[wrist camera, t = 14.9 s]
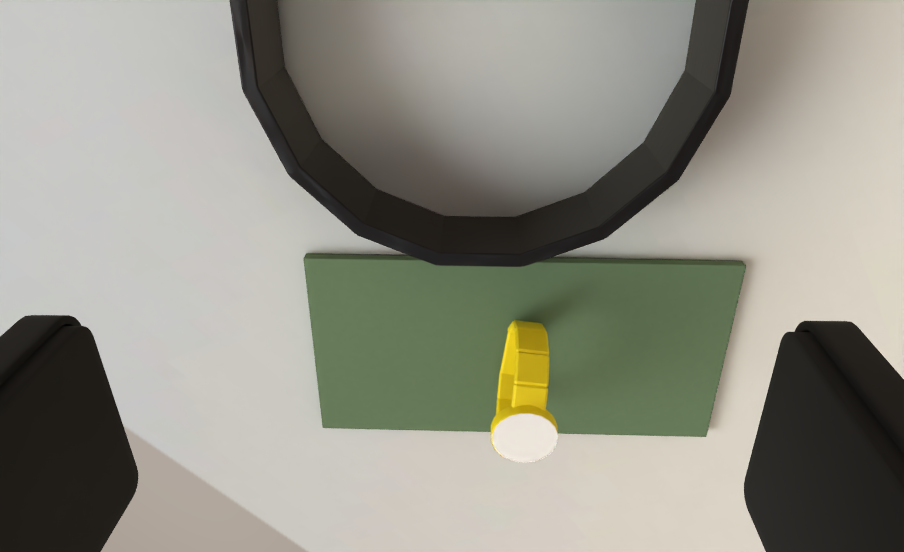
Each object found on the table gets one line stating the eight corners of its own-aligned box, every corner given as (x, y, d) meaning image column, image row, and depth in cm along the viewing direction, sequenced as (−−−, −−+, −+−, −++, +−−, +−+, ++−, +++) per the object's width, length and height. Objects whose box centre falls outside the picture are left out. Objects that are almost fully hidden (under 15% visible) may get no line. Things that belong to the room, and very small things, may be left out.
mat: (742, 260, 31) (746, 265, 30) (703, 430, 35) (706, 437, 35) (305, 253, 31) (303, 258, 31) (324, 422, 36) (322, 428, 35)
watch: (498, 296, 31) (502, 373, 26) (557, 303, 31) (573, 381, 26) (480, 398, 34) (481, 486, 29) (535, 404, 34) (545, 492, 29)
